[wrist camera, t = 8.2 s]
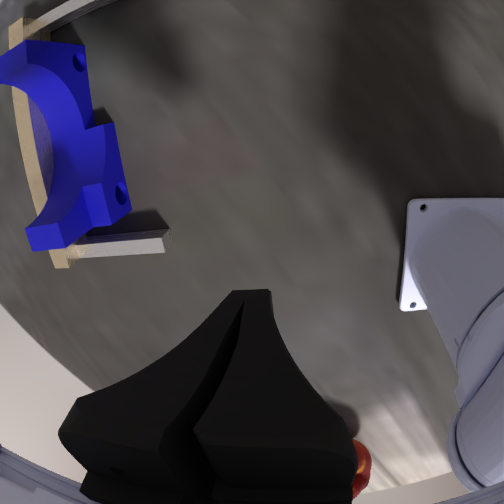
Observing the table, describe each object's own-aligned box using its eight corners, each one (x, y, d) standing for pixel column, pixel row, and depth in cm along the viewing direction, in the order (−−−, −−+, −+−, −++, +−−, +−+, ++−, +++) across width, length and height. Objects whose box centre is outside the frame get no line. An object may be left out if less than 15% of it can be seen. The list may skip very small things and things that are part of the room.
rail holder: (132, -18, 14) (108, -31, 11) (173, 242, 21) (156, 263, 19) (36, 29, 15) (8, 26, 12) (77, 250, 23) (55, 268, 20)
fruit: (373, 449, 30) (378, 509, 23) (305, 462, 32) (302, 519, 25) (364, 415, 27) (370, 486, 20) (285, 430, 29) (278, 498, 22)
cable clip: (133, 208, 21) (85, 246, 15) (83, 215, 22) (32, 251, 16) (104, 38, 16) (45, 27, 10) (54, 60, 16) (-7, 61, 11)
